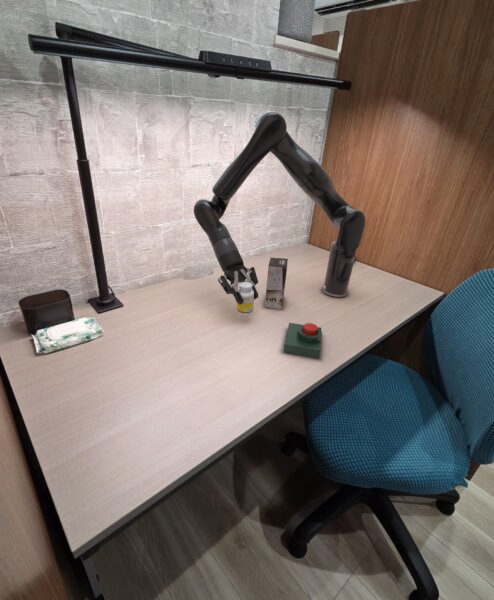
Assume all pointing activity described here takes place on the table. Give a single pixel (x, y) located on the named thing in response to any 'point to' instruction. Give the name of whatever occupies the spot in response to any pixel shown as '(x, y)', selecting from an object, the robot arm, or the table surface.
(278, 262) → the coffee box
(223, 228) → the robot arm
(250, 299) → the supplement bottle
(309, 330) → the button
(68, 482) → the table surface
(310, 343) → the console
